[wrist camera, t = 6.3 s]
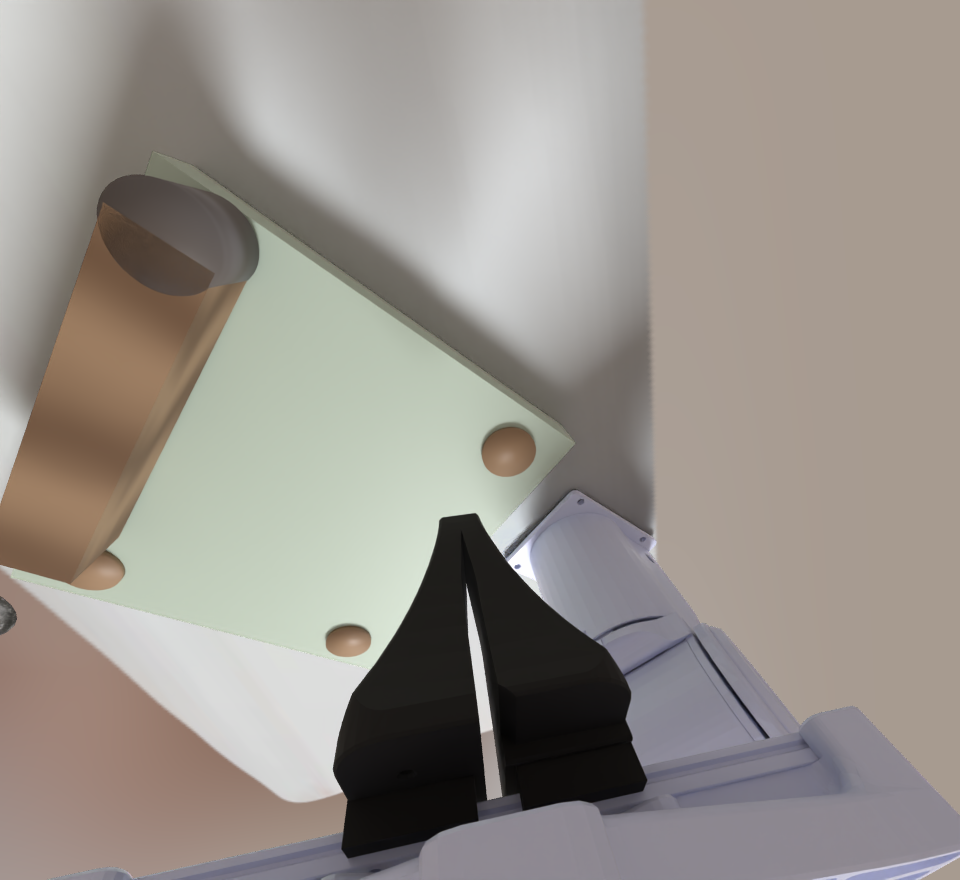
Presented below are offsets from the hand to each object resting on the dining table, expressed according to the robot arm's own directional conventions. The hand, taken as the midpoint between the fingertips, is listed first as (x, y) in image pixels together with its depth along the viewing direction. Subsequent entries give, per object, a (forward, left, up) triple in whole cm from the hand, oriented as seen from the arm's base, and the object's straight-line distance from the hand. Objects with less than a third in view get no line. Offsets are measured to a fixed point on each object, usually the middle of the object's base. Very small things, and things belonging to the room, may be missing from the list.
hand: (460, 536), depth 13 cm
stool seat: (+5, +7, -9) cm, 13 cm away
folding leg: (+13, +5, -7) cm, 15 cm away
